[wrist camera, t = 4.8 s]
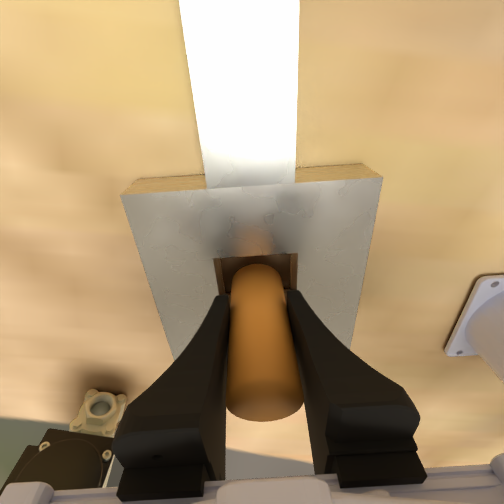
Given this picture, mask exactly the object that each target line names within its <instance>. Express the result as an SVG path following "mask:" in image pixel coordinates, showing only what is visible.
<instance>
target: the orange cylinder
mask: <svg viewBox="0 0 504 504" xmlns="http://www.w3.org/2000/svg"><path fill="white" fill-rule="evenodd" d="M303 403H304V394H303V389H302V384H301V379H300V373H299V368H298V363H297V358H296V353H295V347H294V342H293V337H292V332H291V327H290V322H289V316H288V311H287V306H286V301H285V296H284V290H283V285H282V280H281V277H280V275H279V273H278V272H277V271H276V270H275V269H274V268H272V267H270V266H268V265H265V264H250V265H247V266H245V267H243V268H241V269H240V270H238V271H237V272H236V273H235V275H234V276H233V279H232V287H231V306H230V325H229V345H228V364H227V383H226V407H227V409H228V410H229V411H230V412H231V413H232V414H234V415H235V416H237V417H239V418H242V419H245V420H249V421H258V422H265V421H274V420H279V419H283V418H285V417H288V416H290V415H292V414H294V413H295V412H297V411H298V410H299V409H300V408H301V406H302V405H303Z"/></svg>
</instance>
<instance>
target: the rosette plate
mask: <svg viewBox="0 0 504 504" xmlns="http://www.w3.org/2000/svg"><path fill="white" fill-rule="evenodd" d="M179 6H180V12H181V19H182V26H183V32H184V39H185V45H186V52H187V59H188V65H189V72H190V78H191V85H192V92H193V98H194V105H195V111H196V118H197V125H198V131H199V138H200V145H201V151H202V158H203V164H204V171H205V175H191V176H176V177H162V178H147V179H138V180H137V181H135V182H134V183H133V184H132V185H131V186H130V187H129V188H127V189H126V190H125V191H124V192H123V193H122V194H121V195H120V197H121V200H122V203H123V206H124V209H125V212H126V215H127V218H128V221H129V224H130V227H131V230H132V233H133V236H134V239H135V242H136V245H137V248H138V252H139V255H140V258H141V261H142V264H143V267H144V270H145V273H146V276H147V279H148V282H149V285H150V288H151V291H152V294H153V297H154V300H155V303H156V306H157V309H158V312H159V315H160V318H161V321H162V325H163V328H164V331H165V334H166V337H167V340H168V343H169V346H170V349H171V352H172V355H173V358H174V361H175V360H176V359H177V358H178V356H179V355H180V354H181V353H182V352H183V350H184V349H185V348H186V346H187V345H188V344H189V342H190V341H191V339H192V338H193V336H194V335H195V333H196V332H197V330H198V329H199V327H200V325H201V324H202V322H203V320H204V318H205V317H206V315H207V313H208V311H209V309H210V307H211V305H212V303H213V300H214V298H215V297H216V296H217V295H228V297H229V304H230V306H231V293H225V288H224V281H223V274H222V268H221V261H220V258H228V257H243V256H259V255H274V254H289V253H291V261H290V289H285V290H284V296H285V301H286V306H287V291H293V290H299V291H300V292H301V293H302V295H303V297H304V298H305V300H306V301H307V303H308V304H309V306H310V307H311V308H312V310H313V311H314V312H315V314H316V315H317V316H318V317H319V319H320V320H321V321H322V322H323V323H324V325H325V326H326V327H327V328H328V329H329V330H330V331H331V332H332V333H333V334H334V336H335V337H336V338H337V339H338V340H339V341H341V342H342V343H343V344H344V345H345V346H346V347H347V348H348V349H349V350H350V346H351V341H352V336H353V330H354V325H355V320H356V315H357V310H358V305H359V300H360V294H361V289H362V284H363V279H364V274H365V269H366V263H367V258H368V253H369V248H370V243H371V238H372V233H373V227H374V222H375V217H376V212H377V207H378V202H379V197H380V191H381V186H382V181H383V177H382V176H381V175H379V174H378V173H376V172H375V171H373V170H371V169H370V168H368V167H367V166H365V165H364V164H351V165H337V166H322V167H308V168H295V162H296V119H297V76H298V32H299V0H179Z"/></svg>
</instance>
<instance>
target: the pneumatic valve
mask: <svg viewBox="0 0 504 504" xmlns="http://www.w3.org/2000/svg"><path fill="white" fill-rule="evenodd" d="M126 401H127V397H126V395H124V394H119V395H117V396H115V395H114V394H111V393H108V392H98V391H97V390H96V389H90V390H88V391H87V392H86V394H85V400H84V403H83V405H82V406H81V408H80V410H79V413H78V417H77V418H76V419H74V420H73V421H72V422H71V423H70V426H69V431H64V430H57V429H48V430H47V432H46V434H45V435H44V437H43V439H42V441H41V442H40V444H39V445H38V446H31V445H28V446H27V447H26V449H25V451H24V452H23V454H22V455H21V457H20V459H19V460H18V462H17V464H16V466H15V467H14V469H13V470H12V472H11V474H10V475H9V477H8V479H7V480H6V482H5V484H4V485H3V487H2V489H1V490H0V496H1V494H2V493H3V491H4V489H5V488H6V486H7V485H8V484H10V483H22V482H44V483H47V484H49V485H50V486H51V487H52V488H53V489H54V491H59V490H75V489H91V488H106V485H107V481H108V478H109V474H110V471H111V467H112V463H113V460H114V456H115V455H114V453H113V451H112V448H111V447H112V442H113V439H114V434H115V430H116V426H117V423H118V422H119V421H120V420H121V419H122V416H123V412H124V408H125V404H126Z"/></svg>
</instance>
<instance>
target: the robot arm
mask: <svg viewBox="0 0 504 504" xmlns="http://www.w3.org/2000/svg"><path fill="white" fill-rule="evenodd" d="M287 311H288V316H289V322H290V327H291V332H292V337H293V342H294V347H295V353H296V358H297V363H298V368H299V373H300V379H301V384H302V389H303V394H304V404H305V411H306V417H307V423H308V430H309V437H310V443H311V450H312V457H313V464H314V471H315V475H305V476H289V477H272V478H255V479H239V480H225V443H226V383H227V364H228V345H229V325H230V304H229V297H228V295H217V296H216V297H215V298H214V300H213V303H212V305H211V307H210V309H209V311H208V313H207V315H206V317H205V318H204V320H203V322H202V324H201V325H200V327H199V329H198V330H197V332H196V333H195V335H194V336H193V338H192V339H191V341H190V342H189V344H188V345H187V346H186V348H185V349H184V350H183V352H182V353H181V354H180V355H179V356H178V358H177V359H176V360H175V361H174V362H173V363H172V365H171V366H170V367H169V368H168V369H167V370H166V371H165V372H164V373H163V374H162V375H161V376H160V377H159V378H158V379H157V380H156V381H155V382H154V383H153V384H152V385H151V386H150V387H149V388H148V389H147V390H146V391H144V392H143V393H142V394H141V395H140V396H138V397H137V398H136V399H135V400H134V401H133V402H131V403H130V404H129V405H128V406H127V408H126V410H125V412H124V414H123V416H122V419H121V421H120V423H119V426H118V428H117V431H116V434H115V437H114V439H113V442H112V447H111V448H112V451H113V453H114V455H115V456H116V458H117V459H118V460H119V462H120V463H121V465H122V466H123V467H124V471H123V474H122V477H121V480H120V483H119V487H108V488H91V489H75V490H59V491H54V489H53V488H52V487H51V486H50V485H49V484H47V483H44V482H22V483H10V484H8V485H7V486H6V488H5V489H4V491H3V493H2V494H1V496H0V504H504V453H502V454H499V455H497V456H495V457H494V458H493V459H492V460H491V462H490V464H484V465H468V466H451V467H435V468H424V467H423V465H422V463H421V461H420V459H419V457H418V455H417V453H416V451H417V450H418V448H417V445H416V443H415V441H414V439H413V435H414V433H415V431H416V429H417V427H418V425H419V422H420V415H419V412H418V411H417V409H416V407H415V405H414V403H413V402H412V400H411V399H410V397H409V396H408V394H407V393H406V391H405V390H404V389H403V387H401V386H400V385H398V384H396V383H395V382H393V381H392V380H390V379H388V378H387V377H385V376H384V375H382V374H380V373H379V372H378V371H376V370H375V369H373V368H372V367H370V366H369V365H368V364H367V363H365V362H364V361H363V360H361V359H360V358H359V357H358V356H356V355H355V354H354V353H353V352H352V351H350V350H349V349H348V348H347V347H346V346H345V345H344V344H343V343H342V342H341V341H339V340H338V339H337V338H336V337H335V336H334V334H333V333H332V332H331V331H330V330H329V329H328V328H327V327H326V326H325V325H324V323H323V322H322V321H321V320H320V319H319V317H318V316H317V315H316V314H315V312H314V311H313V310H312V308H311V307H310V306H309V304H308V303H307V301H306V300H305V298H304V297H303V295H302V293H301V292H300V291H299V290H293V291H287ZM444 352H445V353H446V355H447V356H450V357H454V356H470V355H479V356H480V357H481V358H482V359H483V360H484V361H485V363H486V364H487V365H488V366H489V367H490V368H491V369H492V371H493V372H494V373H495V374H496V375H497V376H498V377H499V379H500V380H501V381H502V382H503V383H504V275H493V276H484V277H481V278H479V279H478V280H477V282H476V284H475V286H474V288H473V290H472V292H471V294H470V297H469V299H468V301H467V303H466V305H465V307H464V309H463V311H462V314H461V316H460V318H459V320H458V322H457V324H456V326H455V328H454V331H453V333H452V335H451V337H450V339H449V341H448V343H447V345H446V348H445V350H444Z"/></svg>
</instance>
